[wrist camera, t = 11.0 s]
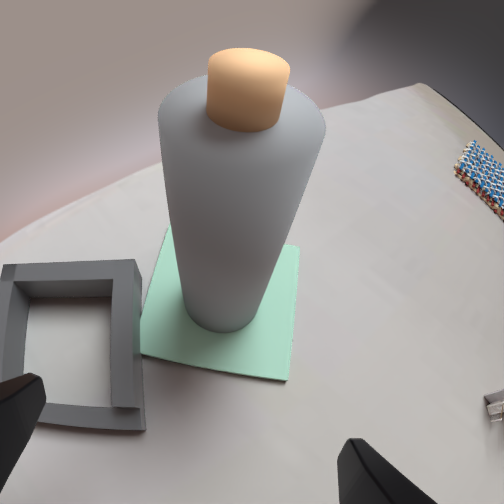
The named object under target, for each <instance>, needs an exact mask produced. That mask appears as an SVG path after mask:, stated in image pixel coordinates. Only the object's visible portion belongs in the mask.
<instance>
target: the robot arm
mask: <svg viewBox="0 0 504 504" xmlns="http://www.w3.org/2000/svg"><path fill="white" fill-rule="evenodd" d="M45 403H46V394H45V390H44V385H43V380H42V378H41V377H40V376H38V375H35V374H33V373H27V374H24V375H21V376H18V377H15V378H12V379H9V380H6V381H3V382H0V493H1V491H2V489H3V487H4V485H5V483H6V481H7V479H8V477H9V475H10V474H11V472H12V470H13V468H14V466H15V464H16V463H17V461H18V459H19V457H20V455H21V454H22V452H23V450H24V448H25V447H26V445H27V443H28V441H29V439H30V437H31V435H32V433H33V430H34V428H35V426H36V424H37V421H38V419H39V417H40V415H41V412H42V410H43V408H44V406H45ZM337 468H338V486H339V503H340V504H437V503H436V502H435V501H434V500H432V499H431V498H430V497H429V496H428V495H426V494H425V493H424V492H423V491H422V490H420V489H419V488H418V487H417V486H416V485H415V484H413V483H412V482H411V481H410V480H409V479H407V478H406V477H405V476H404V475H403V474H402V473H400V472H399V471H398V470H397V469H396V468H395V467H394V466H392V465H391V464H390V463H389V462H388V461H387V460H386V459H385V458H383V457H382V456H381V455H380V454H379V453H378V452H377V451H376V450H374V449H373V448H372V447H371V446H370V445H369V444H368V443H367V442H366V441H365V440H363V439H361V438H350V439H348V440H347V441H346V443H345V445H344V447H343V448H342V450H341V452H340V454H339V456H338V459H337Z"/></svg>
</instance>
